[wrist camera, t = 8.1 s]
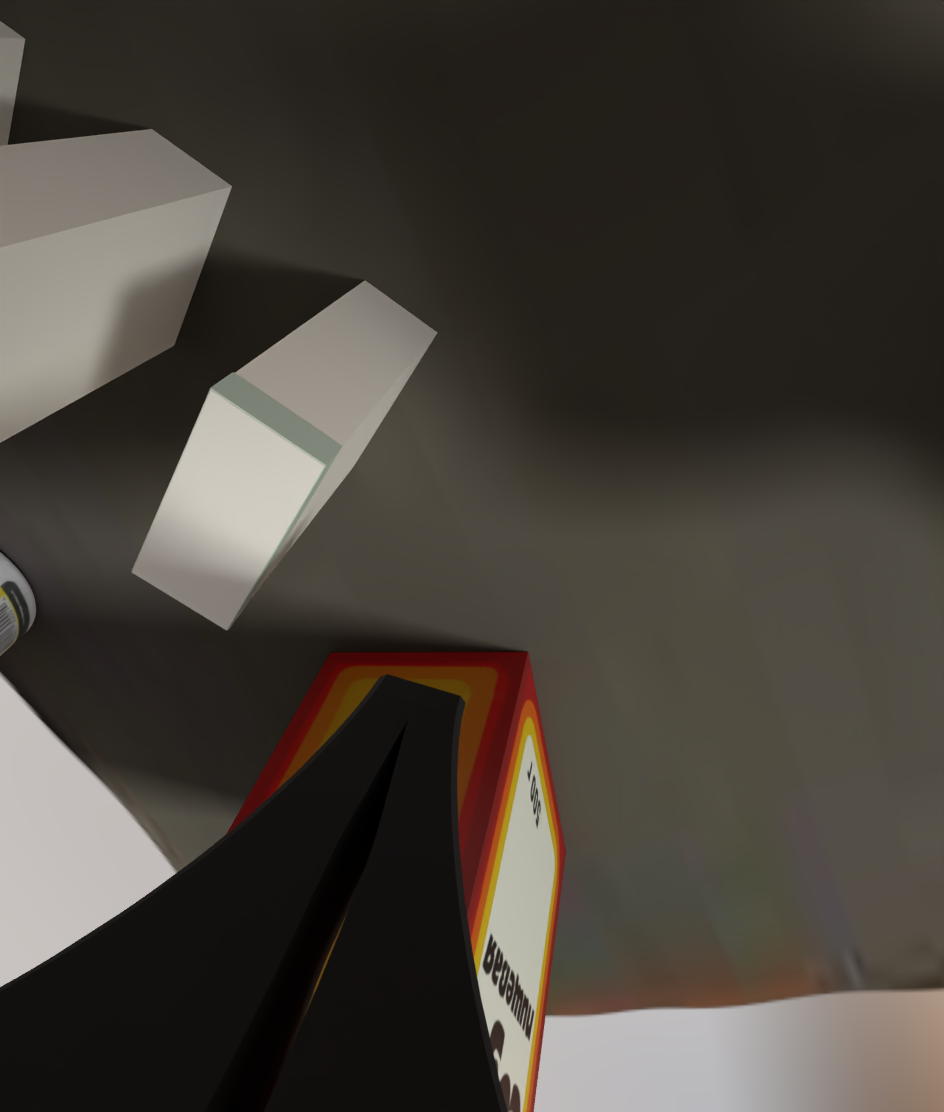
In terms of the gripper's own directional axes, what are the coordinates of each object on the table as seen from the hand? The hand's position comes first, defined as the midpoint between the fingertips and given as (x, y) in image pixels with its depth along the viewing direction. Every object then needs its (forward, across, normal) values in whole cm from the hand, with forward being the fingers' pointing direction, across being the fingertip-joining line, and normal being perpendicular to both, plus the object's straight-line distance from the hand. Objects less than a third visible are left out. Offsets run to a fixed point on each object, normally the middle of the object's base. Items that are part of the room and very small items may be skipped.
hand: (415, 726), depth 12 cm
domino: (+8, +9, -4) cm, 13 cm away
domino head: (+8, +4, -2) cm, 10 cm away
